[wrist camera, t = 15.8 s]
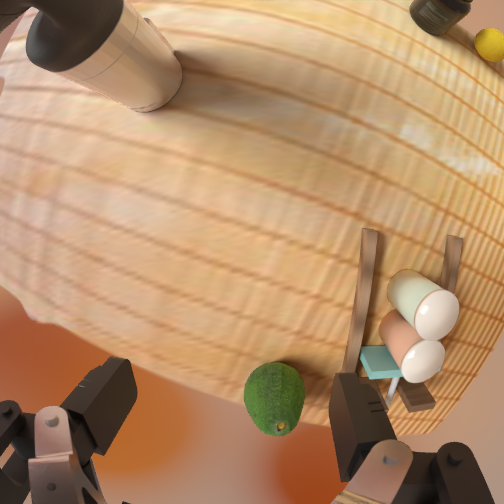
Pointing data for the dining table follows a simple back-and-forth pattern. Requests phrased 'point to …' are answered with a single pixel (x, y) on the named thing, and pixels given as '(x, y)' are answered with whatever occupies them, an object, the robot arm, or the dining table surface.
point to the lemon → (490, 44)
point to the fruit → (275, 398)
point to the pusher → (381, 366)
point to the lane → (411, 393)
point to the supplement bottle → (439, 14)
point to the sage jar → (423, 304)
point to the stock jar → (410, 348)
